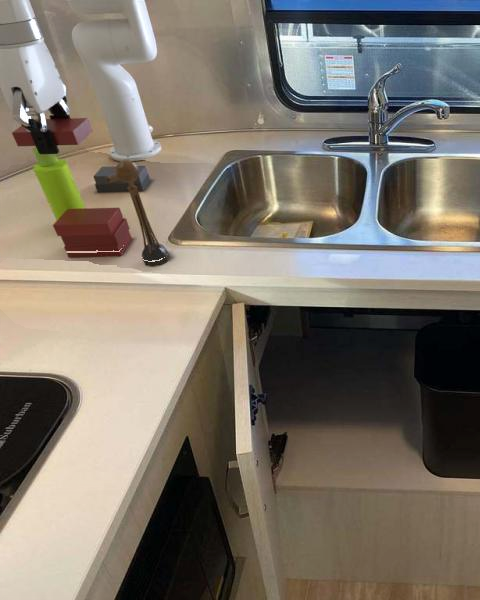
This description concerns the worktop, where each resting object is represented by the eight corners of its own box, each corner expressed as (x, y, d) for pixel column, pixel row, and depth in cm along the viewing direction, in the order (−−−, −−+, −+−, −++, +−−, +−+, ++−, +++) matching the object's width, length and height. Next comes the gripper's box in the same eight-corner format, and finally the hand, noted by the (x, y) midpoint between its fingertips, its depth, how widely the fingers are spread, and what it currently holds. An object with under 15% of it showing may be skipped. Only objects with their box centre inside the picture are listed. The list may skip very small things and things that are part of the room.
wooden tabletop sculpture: (147, 272, 102) (111, 171, 90) (133, 263, 104) (96, 164, 92) (175, 257, 106) (143, 159, 93) (160, 249, 108) (128, 152, 95)
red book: (17, 146, 92) (11, 132, 91) (35, 132, 97) (30, 119, 96) (78, 145, 92) (72, 131, 91) (93, 131, 97) (88, 117, 96)
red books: (67, 257, 106) (52, 225, 102) (81, 240, 111) (67, 208, 106) (122, 256, 106) (110, 223, 102) (133, 239, 111) (122, 207, 107)
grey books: (97, 192, 127) (91, 176, 125) (106, 181, 132) (100, 166, 129) (143, 191, 128) (138, 175, 125) (151, 180, 132) (146, 165, 129)
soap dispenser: (82, 231, 114) (42, 137, 101) (53, 228, 115) (10, 135, 102) (100, 217, 118) (63, 126, 106) (71, 214, 119) (32, 124, 107)
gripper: (17, 21, 91) (59, 127, 102) (-46, 47, 78) (11, 167, 89) (63, 20, 91) (100, 126, 102) (8, 46, 78) (58, 165, 89)
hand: (58, 144), depth 95 cm, fingers closed on red book, 6 cm apart
